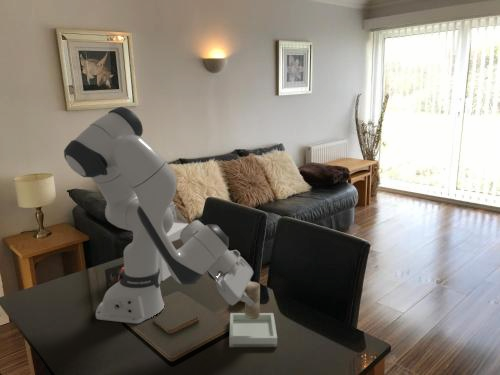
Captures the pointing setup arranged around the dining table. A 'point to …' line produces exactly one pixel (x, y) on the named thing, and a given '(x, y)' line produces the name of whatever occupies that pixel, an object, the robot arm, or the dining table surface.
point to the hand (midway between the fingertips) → (254, 299)
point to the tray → (252, 331)
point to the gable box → (173, 238)
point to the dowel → (253, 292)
